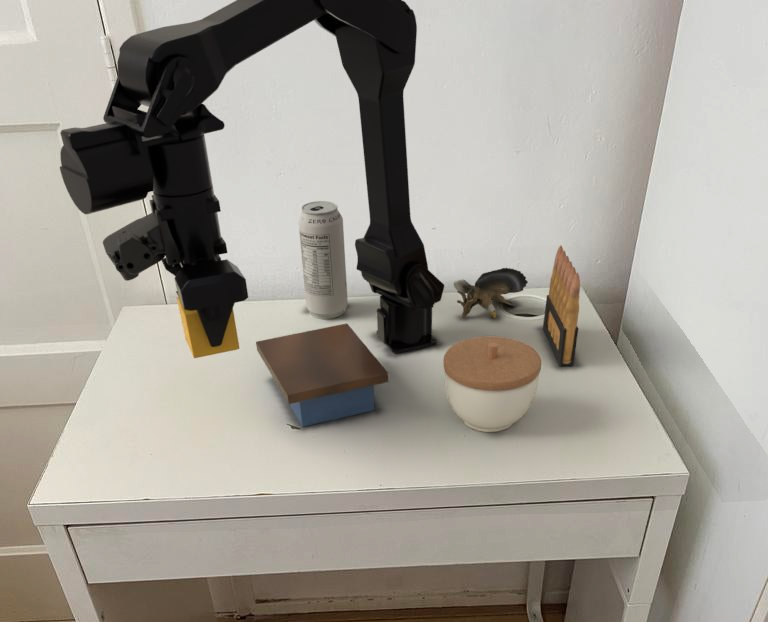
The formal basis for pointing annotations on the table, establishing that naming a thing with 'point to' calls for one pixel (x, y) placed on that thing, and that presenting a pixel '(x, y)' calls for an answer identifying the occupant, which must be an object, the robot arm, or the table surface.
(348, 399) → the blue box
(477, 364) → the trinket box
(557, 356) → the ammunition clip
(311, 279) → the energy drink can
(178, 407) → the table surface
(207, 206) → the robot arm
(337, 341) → the board
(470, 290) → the brown legged piece
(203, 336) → the yellow block
